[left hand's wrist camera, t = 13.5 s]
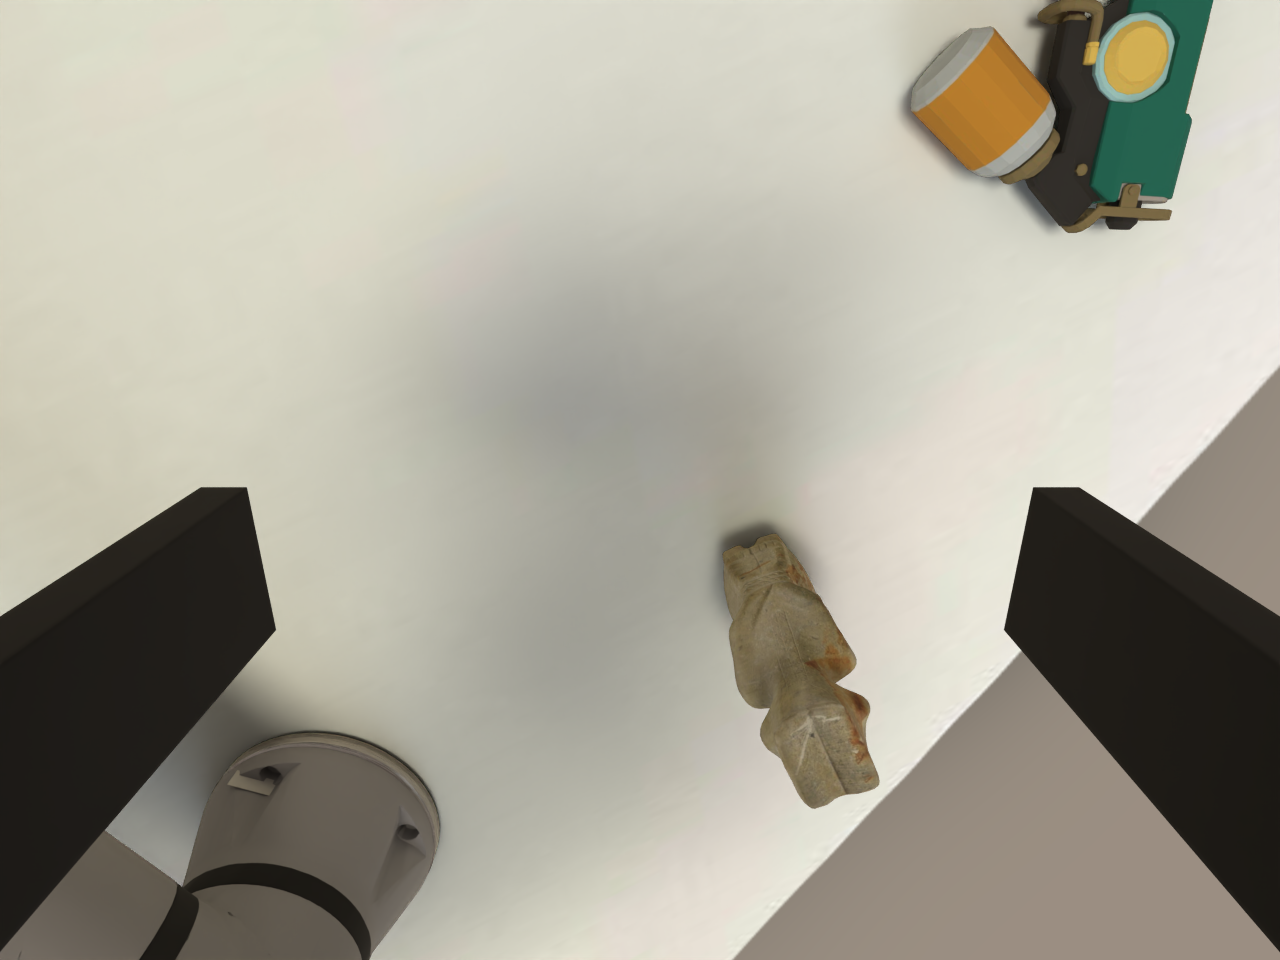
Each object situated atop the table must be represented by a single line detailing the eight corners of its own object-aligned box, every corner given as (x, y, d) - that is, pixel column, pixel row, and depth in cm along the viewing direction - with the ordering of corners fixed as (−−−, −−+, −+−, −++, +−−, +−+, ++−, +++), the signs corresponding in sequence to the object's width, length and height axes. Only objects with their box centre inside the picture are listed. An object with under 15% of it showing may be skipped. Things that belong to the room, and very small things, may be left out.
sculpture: (735, 640, 45) (778, 836, 31) (699, 540, 43) (728, 704, 29) (826, 612, 44) (912, 800, 30) (795, 510, 42) (873, 663, 28)
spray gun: (1006, -255, 31) (1297, -108, 33) (847, 155, 35) (1111, 259, 37) (1069, -331, 26) (1395, -158, 29) (879, 143, 31) (1174, 261, 33)
